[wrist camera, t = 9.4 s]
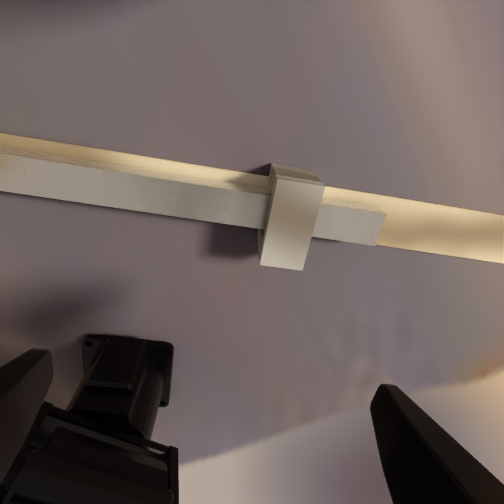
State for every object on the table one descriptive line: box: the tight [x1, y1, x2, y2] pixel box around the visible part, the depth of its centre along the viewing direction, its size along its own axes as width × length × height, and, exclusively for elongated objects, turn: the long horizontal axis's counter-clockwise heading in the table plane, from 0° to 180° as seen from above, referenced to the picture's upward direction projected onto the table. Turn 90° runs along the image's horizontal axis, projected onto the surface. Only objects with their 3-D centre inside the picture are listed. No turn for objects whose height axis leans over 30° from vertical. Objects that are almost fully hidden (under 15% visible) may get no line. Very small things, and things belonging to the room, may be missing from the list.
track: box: [0, 133, 504, 270], centre depth 18 cm, size 5×54×4 cm, turn 80°
